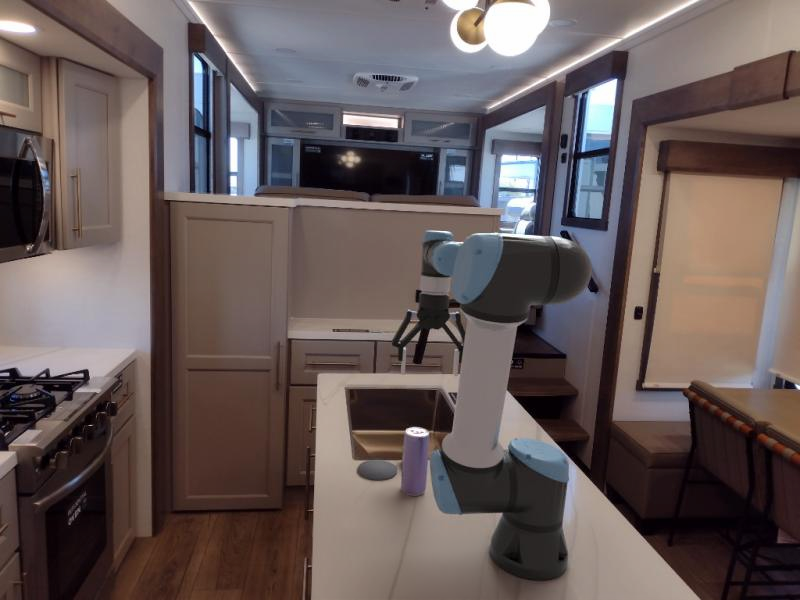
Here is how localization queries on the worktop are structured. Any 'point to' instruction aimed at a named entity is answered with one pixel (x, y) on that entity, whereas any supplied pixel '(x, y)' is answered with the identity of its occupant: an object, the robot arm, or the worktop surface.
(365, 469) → the coaster
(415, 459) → the beverage can
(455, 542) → the worktop surface
